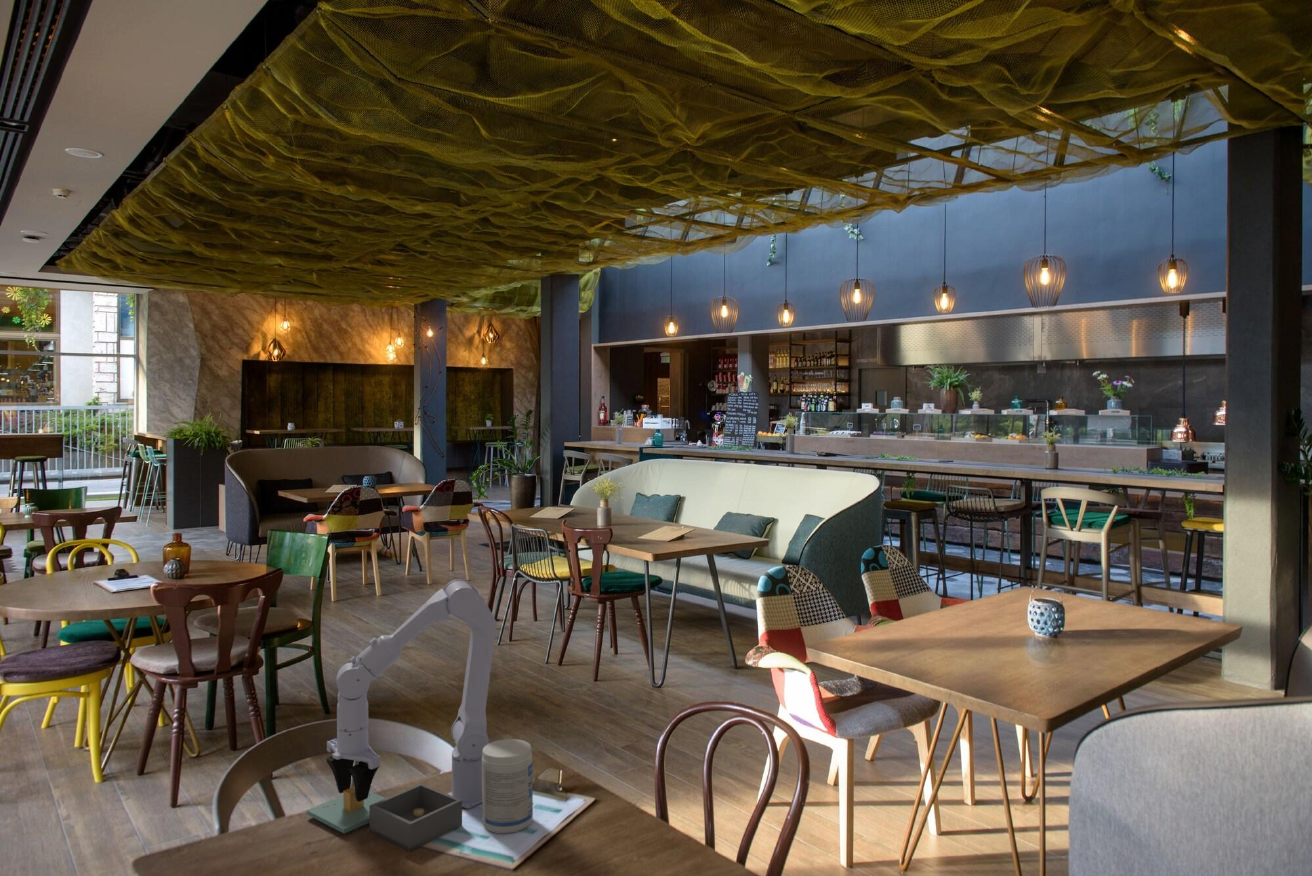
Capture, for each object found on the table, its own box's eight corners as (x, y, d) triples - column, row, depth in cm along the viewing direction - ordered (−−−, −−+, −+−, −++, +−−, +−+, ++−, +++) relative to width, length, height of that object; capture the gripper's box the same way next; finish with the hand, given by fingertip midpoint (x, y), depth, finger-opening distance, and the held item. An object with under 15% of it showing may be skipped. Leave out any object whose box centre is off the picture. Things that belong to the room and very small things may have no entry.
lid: (362, 795, 177) (362, 770, 176) (400, 812, 169) (400, 787, 169) (306, 818, 167) (306, 792, 166) (344, 837, 159) (343, 810, 159)
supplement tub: (541, 827, 164) (541, 750, 163) (494, 840, 159) (494, 762, 158) (519, 807, 172) (519, 734, 171) (474, 819, 167) (474, 744, 166)
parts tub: (421, 808, 171) (421, 783, 171) (462, 826, 164) (462, 800, 164) (369, 831, 161) (369, 805, 161) (410, 851, 154) (410, 824, 154)
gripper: (312, 723, 168) (313, 792, 169) (357, 741, 160) (357, 813, 160) (344, 713, 174) (345, 780, 174) (389, 730, 165) (389, 799, 166)
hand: (353, 795), depth 168 cm, fingers open, 5 cm apart
